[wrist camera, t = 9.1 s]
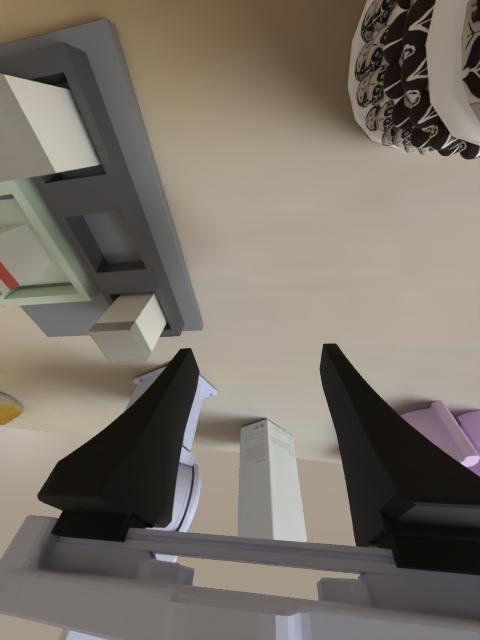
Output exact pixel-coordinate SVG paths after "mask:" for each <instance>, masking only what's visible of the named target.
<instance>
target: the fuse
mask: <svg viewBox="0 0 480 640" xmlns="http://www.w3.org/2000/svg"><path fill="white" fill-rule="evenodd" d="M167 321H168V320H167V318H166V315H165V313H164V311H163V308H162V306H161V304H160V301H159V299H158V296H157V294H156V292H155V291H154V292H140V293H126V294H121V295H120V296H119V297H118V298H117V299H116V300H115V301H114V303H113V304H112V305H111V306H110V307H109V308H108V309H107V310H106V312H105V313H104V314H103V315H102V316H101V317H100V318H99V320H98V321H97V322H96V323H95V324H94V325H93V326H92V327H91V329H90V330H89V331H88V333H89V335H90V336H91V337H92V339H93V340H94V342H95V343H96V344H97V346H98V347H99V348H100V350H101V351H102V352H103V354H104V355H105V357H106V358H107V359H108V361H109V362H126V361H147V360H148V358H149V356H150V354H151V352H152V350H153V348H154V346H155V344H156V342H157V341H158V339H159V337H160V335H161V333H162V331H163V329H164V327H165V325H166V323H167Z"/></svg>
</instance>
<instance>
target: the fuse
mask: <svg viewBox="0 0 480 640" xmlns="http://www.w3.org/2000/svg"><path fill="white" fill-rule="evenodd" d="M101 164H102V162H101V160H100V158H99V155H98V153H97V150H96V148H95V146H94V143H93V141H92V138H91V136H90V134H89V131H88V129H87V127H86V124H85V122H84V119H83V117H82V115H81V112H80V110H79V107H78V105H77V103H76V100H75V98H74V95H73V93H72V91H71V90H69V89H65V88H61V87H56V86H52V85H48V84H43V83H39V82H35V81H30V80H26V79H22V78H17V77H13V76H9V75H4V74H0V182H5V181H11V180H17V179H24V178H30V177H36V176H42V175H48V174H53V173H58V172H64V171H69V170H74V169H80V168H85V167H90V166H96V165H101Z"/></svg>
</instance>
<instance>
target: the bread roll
mask: <svg viewBox="0 0 480 640" xmlns="http://www.w3.org/2000/svg"><path fill="white" fill-rule="evenodd" d="M22 411H23V406H22V405H21V404H20V403H19V402H18V401H16V400H15V399H14V398H12V397H11V396H9V395H7V394H4V393H2V392H0V425H4V424H7V423H9V422H10V421H12V420H13V419H14V418H16V417H18V416H19V415H20V414H21V413H22Z"/></svg>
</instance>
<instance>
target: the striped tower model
mask: <svg viewBox="0 0 480 640" xmlns="http://www.w3.org/2000/svg"><path fill="white" fill-rule="evenodd" d="M347 88H348V92H349V97H350V101H351V105H352V110H353V114H354V118H355V121H356V122H357V123H358V124H359V126H360V127H361V128H362V129H363V131H364V132H365V133H366V134H367V135H368V137H369V138H370V139H371V140H372V141H375V142H378V143H381V144H383V145H385V146H390V147H393V148H396V149H399V148H404V149H405V151H406V152H413V151H415V150H416V149H417V148H418V150H419V152H420V154H422V155H424V154H428V153H430V152H431V151H433V150H434V149H435V150H438V152H439V153H440V154H441V155H442V156H450V155H453V154H455V153H457V152H460V154H461V156H462V157H463V158H464V159H475V158H478V157H480V0H367V1H366V4H365V7H364V9H363V12H362V15H361V18H360V21H359V23H358V26H357V29H356V32H355V34H354V37H353V40H352V44H351V54H350V64H349V74H348V84H347Z"/></svg>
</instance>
